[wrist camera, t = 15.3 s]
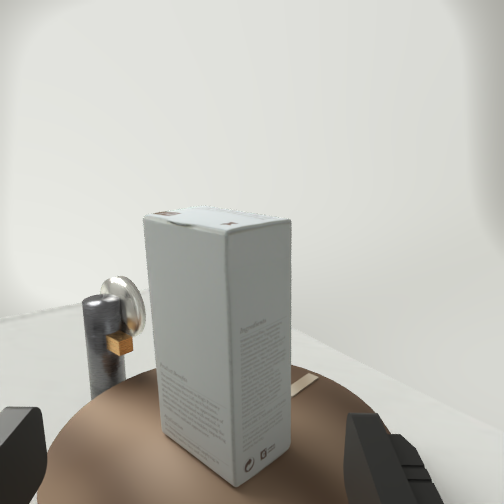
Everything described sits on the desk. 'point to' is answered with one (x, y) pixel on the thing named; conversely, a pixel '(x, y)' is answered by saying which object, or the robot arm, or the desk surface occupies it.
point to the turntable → (187, 465)
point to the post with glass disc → (111, 331)
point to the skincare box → (222, 334)
